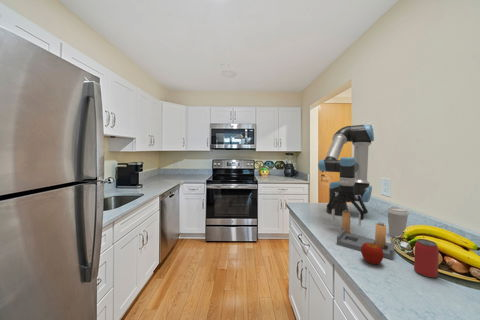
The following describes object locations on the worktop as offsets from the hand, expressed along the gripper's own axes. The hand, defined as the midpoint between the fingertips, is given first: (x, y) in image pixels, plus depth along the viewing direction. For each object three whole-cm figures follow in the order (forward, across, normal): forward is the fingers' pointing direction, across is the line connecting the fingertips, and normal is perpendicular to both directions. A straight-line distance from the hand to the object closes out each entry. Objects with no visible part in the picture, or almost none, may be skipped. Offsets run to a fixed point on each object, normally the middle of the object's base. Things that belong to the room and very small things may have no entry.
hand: (345, 222), depth 112 cm
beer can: (+7, +32, -21) cm, 39 cm away
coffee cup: (+6, +22, +13) cm, 26 cm away
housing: (+6, +11, -11) cm, 17 cm away
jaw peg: (+6, 0, 0) cm, 6 cm away
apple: (+7, +15, -25) cm, 30 cm away
